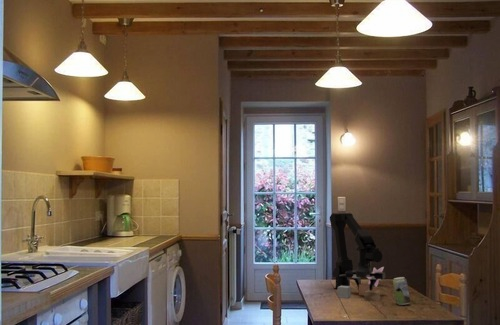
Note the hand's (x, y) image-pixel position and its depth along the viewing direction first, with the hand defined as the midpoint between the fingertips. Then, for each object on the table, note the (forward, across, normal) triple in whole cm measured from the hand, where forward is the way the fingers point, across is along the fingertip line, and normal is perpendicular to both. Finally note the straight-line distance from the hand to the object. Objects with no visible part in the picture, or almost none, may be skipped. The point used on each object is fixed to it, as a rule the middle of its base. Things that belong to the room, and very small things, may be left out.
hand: (365, 292), depth 275 cm
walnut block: (+1, +7, -12) cm, 14 cm away
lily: (+1, -4, +32) cm, 32 cm away
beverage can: (+1, +22, -18) cm, 28 cm away
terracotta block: (+1, 0, 0) cm, 1 cm away
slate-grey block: (+1, -7, -11) cm, 13 cm away
